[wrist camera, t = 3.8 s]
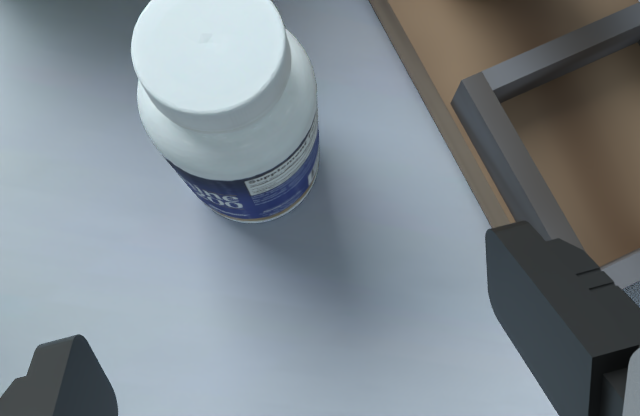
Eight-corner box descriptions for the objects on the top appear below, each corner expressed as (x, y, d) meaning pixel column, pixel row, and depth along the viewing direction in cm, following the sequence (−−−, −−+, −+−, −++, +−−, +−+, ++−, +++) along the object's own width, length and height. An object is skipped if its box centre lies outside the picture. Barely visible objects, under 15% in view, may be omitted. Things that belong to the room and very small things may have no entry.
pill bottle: (162, 158, 25) (58, 36, 15) (261, 77, 25) (220, -87, 16) (247, 254, 24) (192, 186, 14) (347, 166, 24) (358, 48, 15)
